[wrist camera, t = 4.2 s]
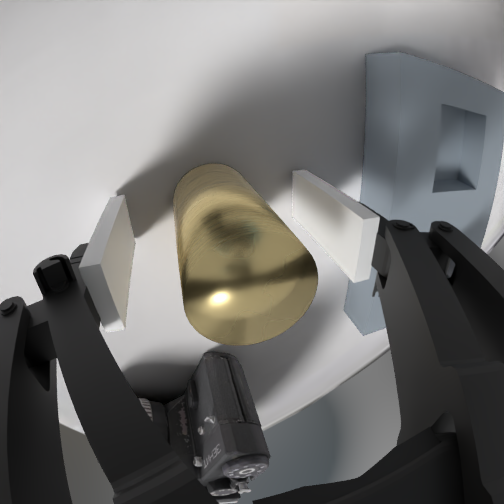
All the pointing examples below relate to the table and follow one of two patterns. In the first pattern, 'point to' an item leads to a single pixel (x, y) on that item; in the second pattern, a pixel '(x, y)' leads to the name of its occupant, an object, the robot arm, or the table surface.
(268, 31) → the table surface
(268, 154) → the table surface
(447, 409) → the robot arm
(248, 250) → the brass cylinder
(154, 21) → the table surface
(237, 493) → the camera
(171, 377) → the table surface
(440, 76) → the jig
